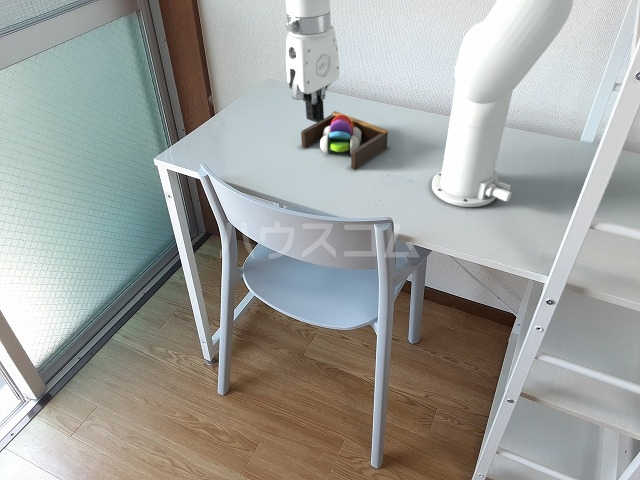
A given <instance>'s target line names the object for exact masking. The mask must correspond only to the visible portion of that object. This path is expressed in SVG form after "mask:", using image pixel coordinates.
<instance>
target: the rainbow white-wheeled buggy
mask: <svg viewBox="0 0 640 480" xmlns="http://www.w3.org/2000/svg"><path fill="white" fill-rule="evenodd" d="M345 115H346V114H345ZM345 115H338V116H336V117H335V118H334V119H333V120H332V122H331V126H328V127H326V128H325V129H324V131H323V137H322V138H321V140H319V142H320V143H319V147H320V150H321V151H322V152H323V153H324V154H329V153H330V150H331V151H333V152H336V153H344V152H347V151H349V154H350V155H351V152H352V151H353V150H355V149H357V148H358V147H360V146H361V142H362V141H361V138H362V133H361V131H360V129H358V128H357V127H354V128H353V124H352V122H351V121H350V119H349V118H348V117H347V116H348V115H347V116H345Z"/></svg>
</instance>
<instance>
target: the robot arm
mask: <svg viewBox="0 0 640 480" xmlns="http://www.w3.org/2000/svg"><path fill="white" fill-rule="evenodd" d="M573 5H574V0H496V2H495V4H494V5H493V7H492V8H491V10H490V11H489V13H488V14H487V16H486V17H485V18H484V19H482V20H480V21H478V22H476V23H475V24H474V25H473V26H471V28H470V29H469V30H468V31H467V32H466V34H465V35H464V37H463V39H462V42H461V45H460V47H459V50H458V56H457V60H456V63H455V66H454V79H455V85H454V86H455V87H454V92H453V98H452V104H451V111H450V116H449V123H448V129H447V136H446V141H445V148H444V154H443V155H444V156H443V162H442V168H441V171H438V172H437V173H436V174H435V175H434V176H433V178H432V181H431V189H432V192H433V193H434V194H435V195H436V197H438V198H439V199H441V200H442V201H444V202H446V203H448V204H451V205H454V206H458V207H463V208H478V207H483V206H486V205H490V204H491V203H492V202H494V201H495V200H496V199H498V200H500V201H504V202H505V203H508V202H509V201H510V200H511V197H512V194H513V193H512V191H510V190H511V187H512V185H511V184H507V183H505V182H501V181H500V179H499V175H500V172H499V171H498V170H496V166H497V161H498V158H499V153H500V148H501V143H502V139H503V134H504V130H505V126H506V122H507V119H508V115H509V109H510V106H511V100H512V97H513V91H514V90H515V89H516V88H517V87H518V85H519V84H520V83H521V82H522V80H524V78H525V77H526V76H527V75H528V73H529V72H530V71H531V70H532V68H533V67H534V66H535V64H537V62H538V61H539V60H540V58H541V57H542V56H543V54H544V53H545V51H546V50H547V49H548V48H549V47H550V45H551V44H552V43H553V41H554V40H555V39H556V37H557V36H558V35H559V33H560V32H561V31H562V29H563V27H564V26H565V24H566V22H567V20H568V19H569V17H570V14H571V11H572V9H573ZM285 6H286V18H287V19H286V20H287V23H286V24H285V29H286V32H288V34H287V35H286V44H285V45H286V47H285V66H286V67H285V68H286V69H285V70H286V80H287V85H288V88H289V89H290V90H291V99H293V100H295V101H301V100H302V101H303V102H305V115H306V119H307V120H309V121H311V122H313V123H318V122H320V121H322V120H324V118H325V112H324V100H325V99H326V93H327V92H326V91H327V89H328V88H329V86H330V85H331V84H333V83H334V82H336V81H337V80H338V79H339V77H340V59H339V58H340V57H339V48H338V41H337V36H336V31H335V28H334V26H333V25H332V20H331V19H332V18H331V17H332V16H331V0H285Z"/></svg>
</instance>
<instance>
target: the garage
mask: <svg viewBox="0 0 640 480" xmlns="http://www.w3.org/2000/svg"><path fill="white" fill-rule="evenodd" d="M338 115H345V116H347V117H348V118H349V119H350V121H351V122H352V124H353V128H354V127H357V128H358V129H360V131H361V133H362V138H361V142H362V143H363V144H362V145H361V144H360V147H358V148H357V149H355V150H353V151H352V152H351V154H350V169H351V170H353V171H355V170H357V169H358V168H360V167H361V166H363V165H364V164H366V163H367V162H369V161H370V160H372V159H373V158H375V157H376V156H378V155H379V154H381V153H382V152H384V151H386V150H387V148H388V137H389V130H388V129H386V128H384V127H381V126H377V125H376V124H372V123H369V122H367V121H364V120H362V119H359V118H355V117H353V116H350V115H347V114H344V113H342V112H339V111H336V110H334V111H332V112H331V114H330V115H328V116H327V117H324V120H322V121H320V122H318V123H317V122H314V124H312V125H310V126H308V127H306V128H305V129H303V130H301V131H300V137H301V148H303V149H307V148H309V147H310V146H312V145H314V144H316V143H318V142H320V141H321V138H322V137H323V131H324V129H325V128H326V127H328V126H331V122H332V120H333V119H334V118H335V117H336V116H338Z"/></svg>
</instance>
